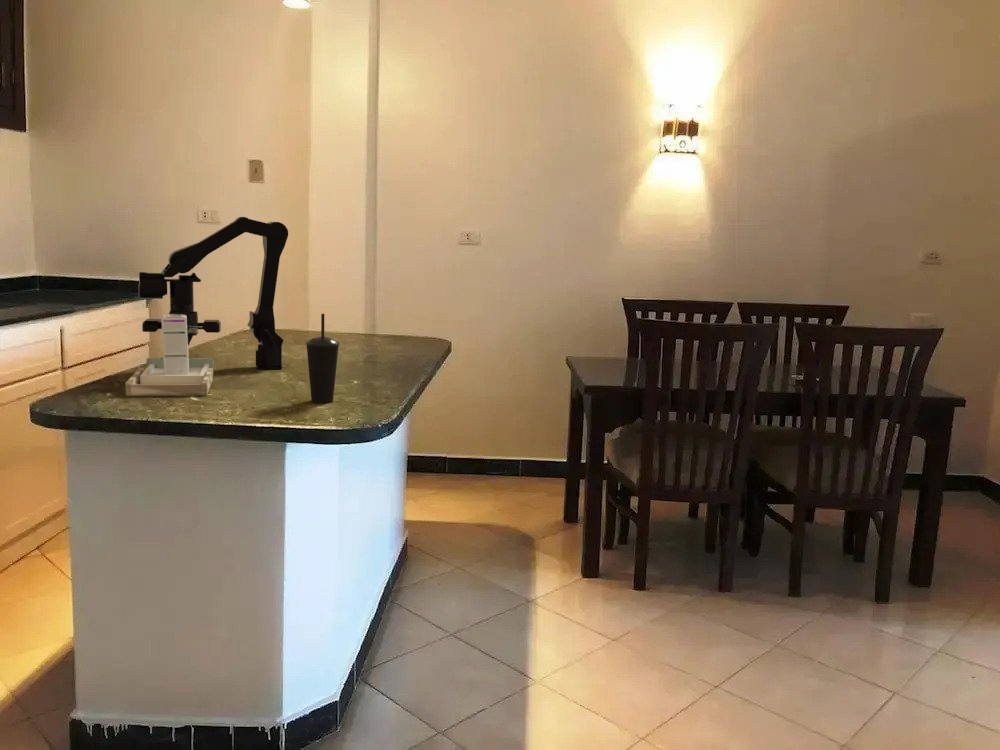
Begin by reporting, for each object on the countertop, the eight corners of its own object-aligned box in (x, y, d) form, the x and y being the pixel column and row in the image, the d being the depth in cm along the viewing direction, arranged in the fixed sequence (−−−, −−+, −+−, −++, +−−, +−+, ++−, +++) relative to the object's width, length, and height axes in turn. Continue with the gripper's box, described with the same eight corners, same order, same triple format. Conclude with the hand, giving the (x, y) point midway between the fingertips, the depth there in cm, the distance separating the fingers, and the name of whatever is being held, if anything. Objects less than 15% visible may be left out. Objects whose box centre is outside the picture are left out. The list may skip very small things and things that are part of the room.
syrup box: (189, 376, 200) (187, 316, 197) (162, 376, 198) (161, 316, 195) (188, 372, 205) (187, 314, 202) (163, 372, 203) (161, 313, 200)
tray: (147, 370, 210) (147, 358, 209) (213, 370, 214) (213, 358, 213) (135, 384, 193) (135, 370, 192) (207, 383, 197) (207, 370, 196)
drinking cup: (310, 405, 182) (310, 315, 179) (301, 398, 189) (301, 312, 186) (343, 403, 186) (344, 315, 182) (333, 396, 193) (334, 311, 189)
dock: (139, 380, 201) (139, 368, 200) (213, 380, 205) (212, 368, 205) (126, 396, 183) (125, 383, 183) (206, 395, 188) (206, 382, 187)
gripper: (137, 301, 203) (139, 363, 206) (217, 302, 208) (218, 363, 211) (144, 297, 214) (146, 356, 217) (220, 298, 219) (221, 356, 221)
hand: (183, 358), depth 216 cm, fingers closed
